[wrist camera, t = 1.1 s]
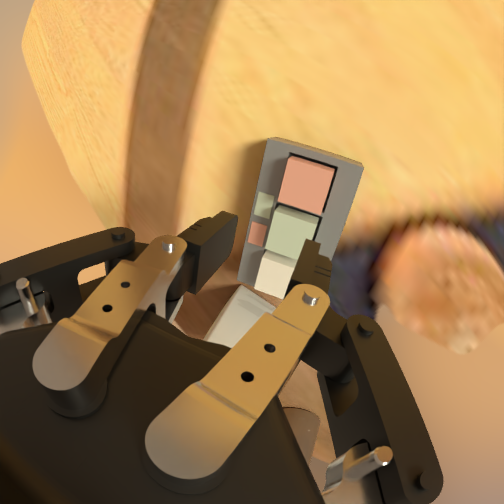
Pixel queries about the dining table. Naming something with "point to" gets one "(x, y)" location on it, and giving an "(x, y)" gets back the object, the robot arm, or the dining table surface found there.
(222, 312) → the skincare box
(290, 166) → the key coral
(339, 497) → the robot arm
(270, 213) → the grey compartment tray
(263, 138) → the dining table surface
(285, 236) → the key sage
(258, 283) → the key ivory
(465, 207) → the dining table surface
